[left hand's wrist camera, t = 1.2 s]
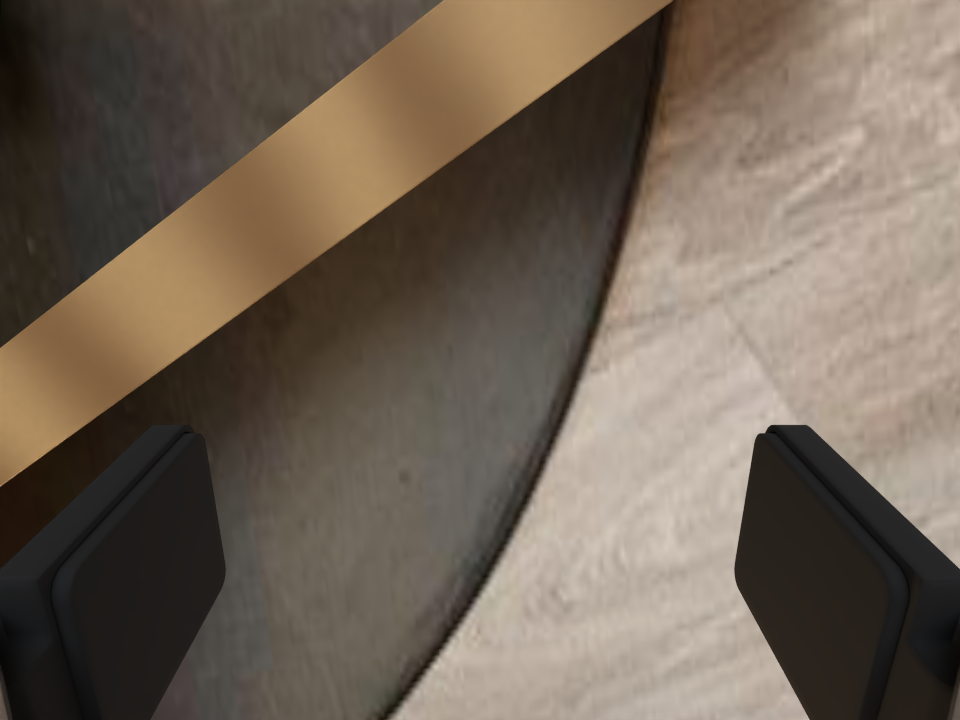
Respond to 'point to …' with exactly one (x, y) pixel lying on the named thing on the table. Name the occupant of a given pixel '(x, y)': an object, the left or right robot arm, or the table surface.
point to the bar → (293, 203)
